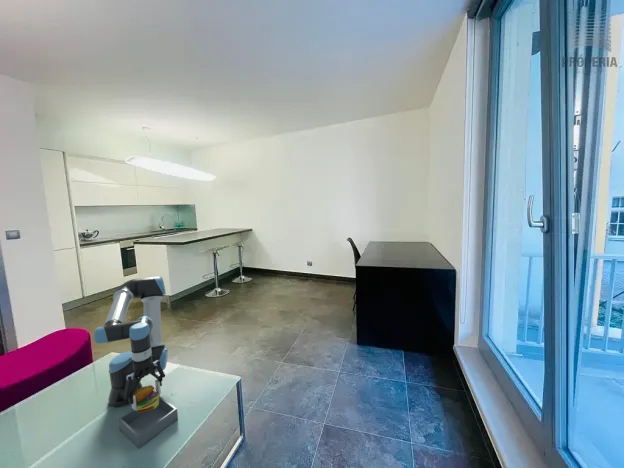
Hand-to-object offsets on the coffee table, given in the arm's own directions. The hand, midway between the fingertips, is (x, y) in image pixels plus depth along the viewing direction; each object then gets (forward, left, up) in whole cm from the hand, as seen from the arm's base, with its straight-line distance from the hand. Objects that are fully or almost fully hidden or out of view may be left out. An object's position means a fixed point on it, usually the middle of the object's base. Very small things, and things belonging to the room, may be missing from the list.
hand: (146, 400), depth 123 cm
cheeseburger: (0, 0, -3) cm, 3 cm away
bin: (0, 0, -13) cm, 13 cm away
